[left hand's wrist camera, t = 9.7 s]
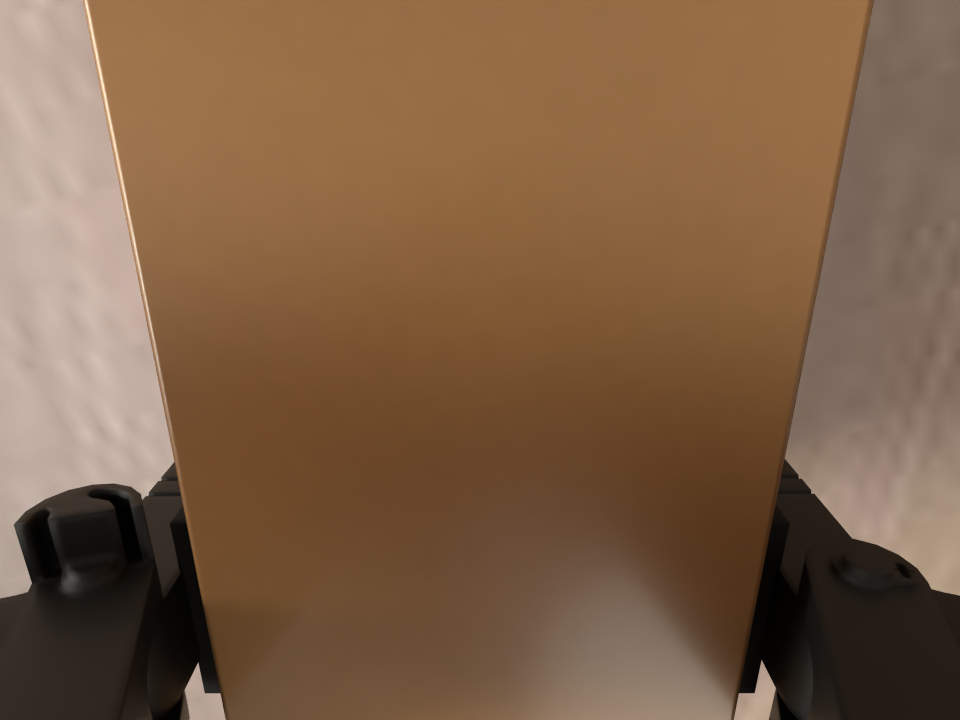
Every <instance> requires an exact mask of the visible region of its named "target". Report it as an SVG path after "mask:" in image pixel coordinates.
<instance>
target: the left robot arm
mask: <svg viewBox="0 0 960 720" xmlns="http://www.w3.org/2000/svg"><path fill="white" fill-rule="evenodd" d="M14 527H15V530H16V533H17V536H18V540H19V543H20V546H21V549H22V552H23V556H24V559H25V562H26V565H27V568H28V572H29V575H30V578H31V581H32V585H31V587H30V589H29V591H28V592H27V593H23V594H20V595H16V596H11V597H6V598H1V599H0V720H189V718H190V717H189V711H188V704H187V699H186V695H185V688H186V686H187V684H188V682H189V680H190V678H191V676H192V674H193V672H194V670H195V668H196V666H197V664H198V662H199V667H200V672H201V676H202V681H203V686H204V691H205V693H220V688H219V683H218V678H217V672H216V667H215V662H214V657H213V652H212V647H211V642H210V637H209V632H208V627H207V622H206V617H205V612H204V607H203V602H202V597H201V592H200V587H199V582H198V577H197V572H196V567H195V562H194V557H193V552H192V547H191V542H190V537H189V532H188V527H187V522H186V516H185V511H184V506H183V501H182V496H181V491H180V486H179V481H178V476H177V471H176V466H175V462H174V463H173V464H172V466H171V467H170V468H169V469H168V470H167V472H166V473H165V474H164V475H163V476H162V480H161V481H158V482H157V484H156V485H155V486H154V487H153V488H152V489H151V491H150V492H149V496H146V497H145V498H144V499H143V500H142V498H141V494H140V493H138V492H137V491H136V490H134V489H133V488H132V487H129V486H124V485H118V484H98V485H89V486H85V487H81V488H76V489H72V490H68V491H65V492H63V493H60V494H58V495H55V496H53V497H50V498H48V499H45V500H44V501H42V502H40V503H39V504H37V505H36V506H34V507H32V508H31V509H29V510H28V511H26V512H25V513H24V514H23V515H22V516H21V517H20V518H19V520H18V521H17V522H16V523H15V524H14ZM761 660H762V661H763V663H764V665H765V667H766V669H767V671H768V673H769V675H770V677H771V679H772V681H773V683H774V685H775V687H776V690H775V695H774V699H773V704H772V708H771V713H770V717H769V720H960V596H958V595H954V594H949V593H944V592H940V591H936V590H932V589H931V588H930V586H929V583H928V582H927V581H926V579H925V578H924V577H923V575H922V574H921V573H920V572H919V570H918V569H917V568H916V567H915V566H913V565H912V564H910V563H909V562H908V561H906V560H905V559H904V558H902V557H901V556H899V555H898V554H895V553H893V552H891V551H889V550H887V549H885V548H882V547H880V546H878V545H875V544H871V543H868V542H864V541H860V540H856V539H852V538H851V537H850V536H849V534H848V533H847V532H846V531H845V530H844V528H843V527H842V526H841V525H840V524H839V523H838V521H837V520H836V519H835V518H834V517H833V515H832V514H831V513H830V512H829V511H828V510H827V508H826V507H825V506H824V505H823V504H822V502H821V501H820V500H819V499H818V498H817V497H816V495H815V494H811V489H810V488H809V487H808V486H807V485H806V484H805V482H804V481H803V480H802V479H799V477H798V474H797V473H796V472H795V471H794V469H793V468H792V467H791V466H790V465H789V463H788V462H787V461H786V460H785V459H784V463H783V469H782V474H781V479H780V484H779V489H778V494H777V499H776V504H775V510H774V515H773V520H772V525H771V530H770V535H769V540H768V546H767V551H766V556H765V561H764V566H763V571H762V576H761V582H760V587H759V592H758V597H757V602H756V607H755V612H754V617H753V623H752V628H751V633H750V638H749V643H748V648H747V653H746V659H745V664H744V669H743V674H742V679H741V684H740V689H739V693H755V689H756V684H757V679H758V674H759V669H760V665H761Z"/></svg>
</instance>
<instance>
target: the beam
mask: <svg viewBox="0 0 960 720" xmlns="http://www.w3.org/2000/svg"><path fill="white" fill-rule="evenodd" d="M873 1H874V0H83V3H84V8H85V13H86V18H87V23H88V28H89V33H90V39H91V44H92V49H93V54H94V59H95V64H96V69H97V74H98V79H99V84H100V89H101V94H102V99H103V104H104V109H105V114H106V119H107V124H108V129H109V134H110V139H111V144H112V149H113V154H114V159H115V164H116V169H117V174H118V179H119V184H120V189H121V194H122V200H123V205H124V210H125V215H126V220H127V225H128V230H129V235H130V240H131V245H132V250H133V255H134V260H135V265H136V270H137V275H138V280H139V285H140V290H141V295H142V300H143V305H144V310H145V315H146V320H147V325H148V330H149V335H150V340H151V345H152V350H153V355H154V361H155V366H156V371H157V376H158V381H159V386H160V391H161V396H162V401H163V406H164V411H165V416H166V421H167V426H168V431H169V436H170V441H171V446H172V451H173V456H174V461H175V466H176V471H177V476H178V481H179V486H180V491H181V496H182V501H183V506H184V511H185V516H186V522H187V527H188V532H189V537H190V542H191V547H192V552H193V557H194V562H195V567H196V572H197V577H198V582H199V587H200V592H201V597H202V602H203V607H204V612H205V617H206V622H207V627H208V632H209V637H210V642H211V647H212V652H213V657H214V662H215V667H216V672H217V678H218V683H219V688H220V693H221V698H222V703H223V708H224V713H225V718H226V720H734V715H735V710H736V705H737V700H738V694H739V689H740V684H741V679H742V674H743V669H744V664H745V659H746V653H747V648H748V643H749V638H750V633H751V628H752V623H753V617H754V612H755V607H756V602H757V597H758V592H759V587H760V582H761V576H762V571H763V566H764V561H765V556H766V551H767V546H768V540H769V535H770V530H771V525H772V520H773V515H774V510H775V504H776V499H777V494H778V489H779V484H780V479H781V474H782V469H783V463H784V458H785V453H786V448H787V443H788V438H789V433H790V427H791V422H792V417H793V412H794V407H795V402H796V397H797V392H798V386H799V381H800V376H801V371H802V366H803V361H804V356H805V350H806V345H807V340H808V335H809V330H810V325H811V320H812V314H813V309H814V304H815V299H816V294H817V289H818V284H819V279H820V273H821V268H822V263H823V258H824V253H825V248H826V243H827V237H828V232H829V227H830V222H831V217H832V212H833V207H834V202H835V196H836V191H837V186H838V181H839V176H840V171H841V166H842V160H843V155H844V150H845V145H846V140H847V135H848V130H849V125H850V119H851V114H852V109H853V104H854V99H855V94H856V89H857V83H858V78H859V73H860V68H861V63H862V58H863V53H864V47H865V42H866V37H867V32H868V27H869V22H870V17H871V12H872V6H873Z"/></svg>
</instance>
